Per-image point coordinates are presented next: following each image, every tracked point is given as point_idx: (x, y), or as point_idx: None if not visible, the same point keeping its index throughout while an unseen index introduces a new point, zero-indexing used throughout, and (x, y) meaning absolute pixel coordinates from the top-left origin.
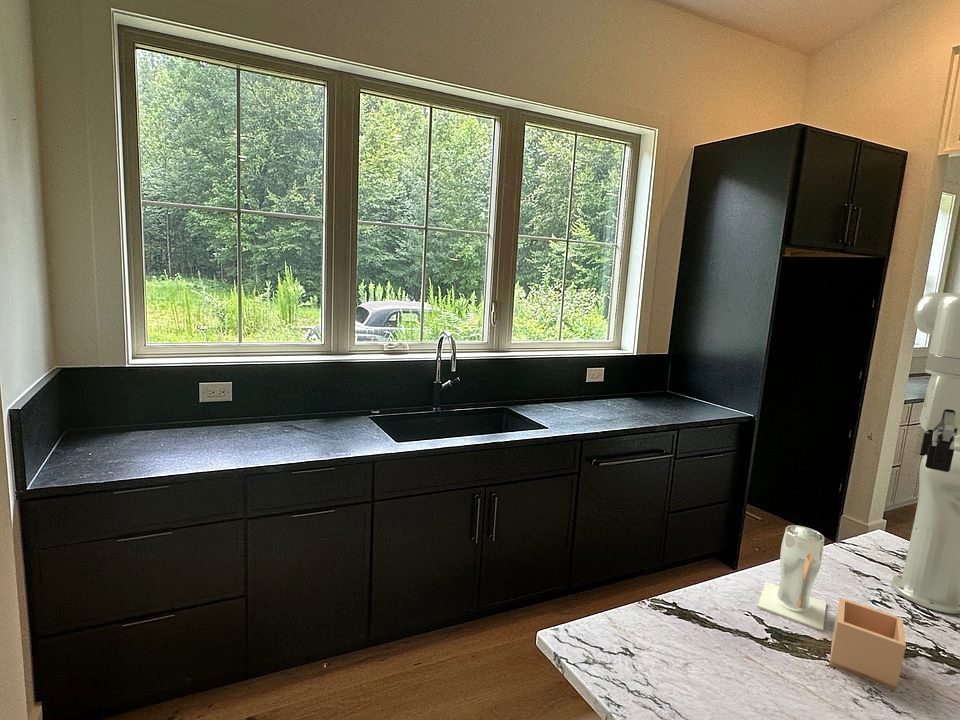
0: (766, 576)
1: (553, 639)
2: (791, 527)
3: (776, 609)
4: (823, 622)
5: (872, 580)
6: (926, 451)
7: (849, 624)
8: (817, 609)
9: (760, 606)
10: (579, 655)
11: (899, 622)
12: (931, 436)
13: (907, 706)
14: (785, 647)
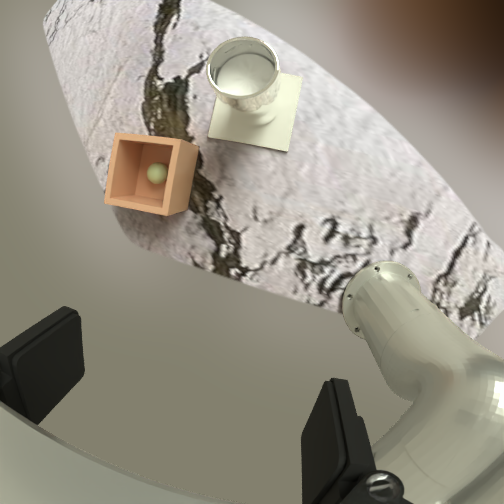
0: (326, 82)
1: None
2: (267, 48)
3: None
4: (226, 139)
5: (397, 237)
6: (321, 402)
7: (116, 145)
8: (257, 135)
9: None
10: None
11: (153, 208)
12: (327, 475)
13: None
14: (152, 97)
